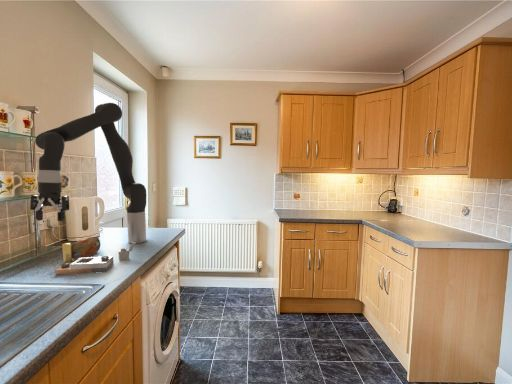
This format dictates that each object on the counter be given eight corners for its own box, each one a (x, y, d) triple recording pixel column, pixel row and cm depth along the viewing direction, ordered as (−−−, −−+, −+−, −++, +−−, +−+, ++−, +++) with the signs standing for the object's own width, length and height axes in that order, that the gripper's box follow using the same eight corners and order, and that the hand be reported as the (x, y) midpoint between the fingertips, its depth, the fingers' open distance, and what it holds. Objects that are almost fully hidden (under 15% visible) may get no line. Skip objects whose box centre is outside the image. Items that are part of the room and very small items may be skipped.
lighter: (118, 260, 114) (117, 243, 113) (119, 259, 116) (118, 242, 115) (135, 259, 116) (135, 242, 115) (136, 257, 118) (135, 241, 117)
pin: (66, 262, 111) (64, 242, 110) (73, 262, 112) (72, 242, 111) (62, 265, 108) (60, 245, 107) (69, 264, 109) (68, 244, 108)
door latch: (66, 267, 106) (66, 255, 106) (113, 264, 109) (113, 253, 109) (55, 275, 99) (54, 262, 98) (106, 272, 102) (105, 260, 101)
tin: (74, 262, 112) (73, 244, 111) (68, 261, 112) (67, 243, 111) (101, 251, 126) (100, 234, 125) (96, 250, 127) (95, 234, 126)
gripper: (74, 182, 107) (73, 219, 108) (40, 181, 107) (40, 218, 108) (60, 182, 99) (60, 222, 100) (24, 180, 99) (24, 221, 100)
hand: (50, 220), depth 104 cm, fingers open, 8 cm apart
